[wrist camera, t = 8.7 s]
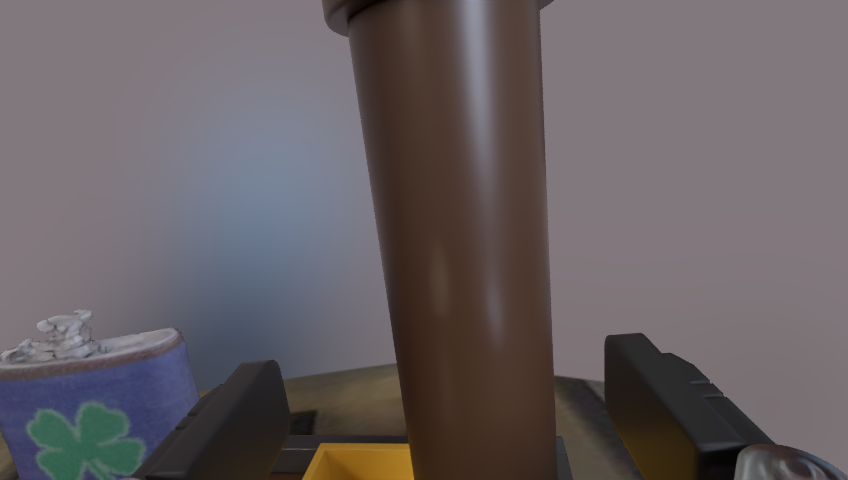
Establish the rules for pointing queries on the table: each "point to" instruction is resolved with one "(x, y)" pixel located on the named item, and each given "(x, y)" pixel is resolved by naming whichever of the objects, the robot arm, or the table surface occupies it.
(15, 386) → the flask
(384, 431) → the table surface
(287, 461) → the track
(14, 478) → the table surface
